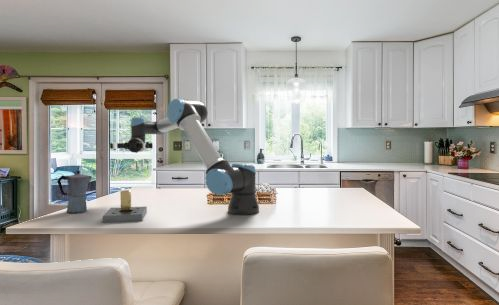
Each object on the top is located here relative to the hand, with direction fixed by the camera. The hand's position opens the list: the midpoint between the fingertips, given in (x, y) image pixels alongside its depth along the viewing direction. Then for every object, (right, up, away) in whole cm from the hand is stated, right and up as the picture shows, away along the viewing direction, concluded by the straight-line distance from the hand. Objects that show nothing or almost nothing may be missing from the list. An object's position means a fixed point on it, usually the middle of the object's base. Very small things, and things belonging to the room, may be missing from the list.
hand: (128, 146), depth 152 cm
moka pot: (-27, -32, +3) cm, 42 cm away
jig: (+2, -32, -8) cm, 33 cm away
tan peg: (+2, -32, -8) cm, 33 cm away
